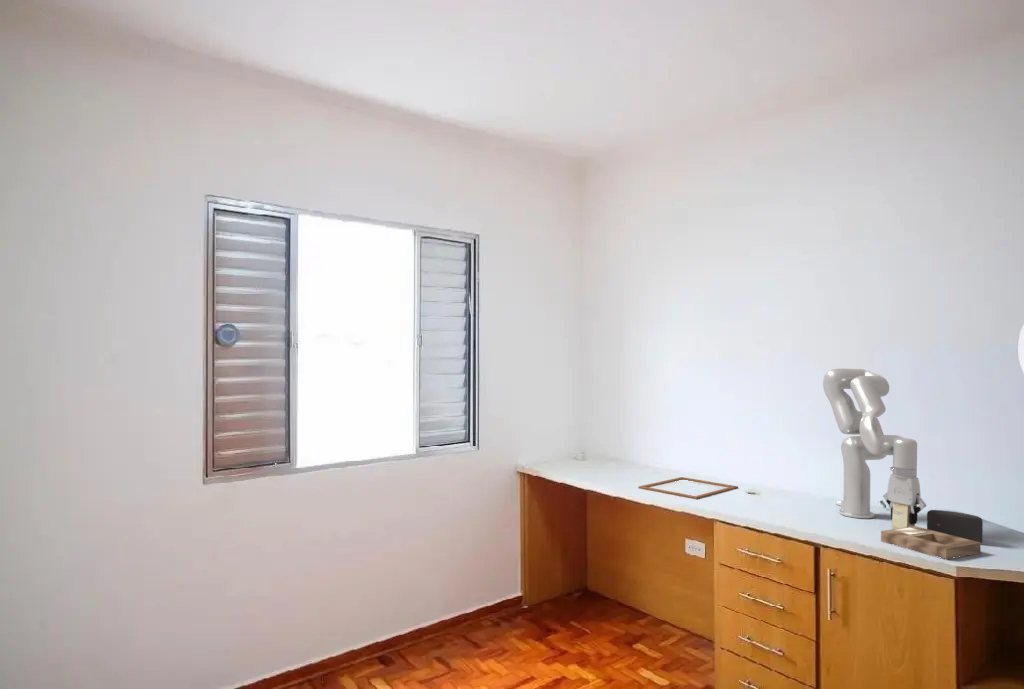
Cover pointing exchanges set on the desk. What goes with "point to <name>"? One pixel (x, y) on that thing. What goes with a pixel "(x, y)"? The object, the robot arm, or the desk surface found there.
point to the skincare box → (901, 516)
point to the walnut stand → (931, 542)
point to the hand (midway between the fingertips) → (903, 520)
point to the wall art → (672, 481)
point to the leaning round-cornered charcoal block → (956, 524)
